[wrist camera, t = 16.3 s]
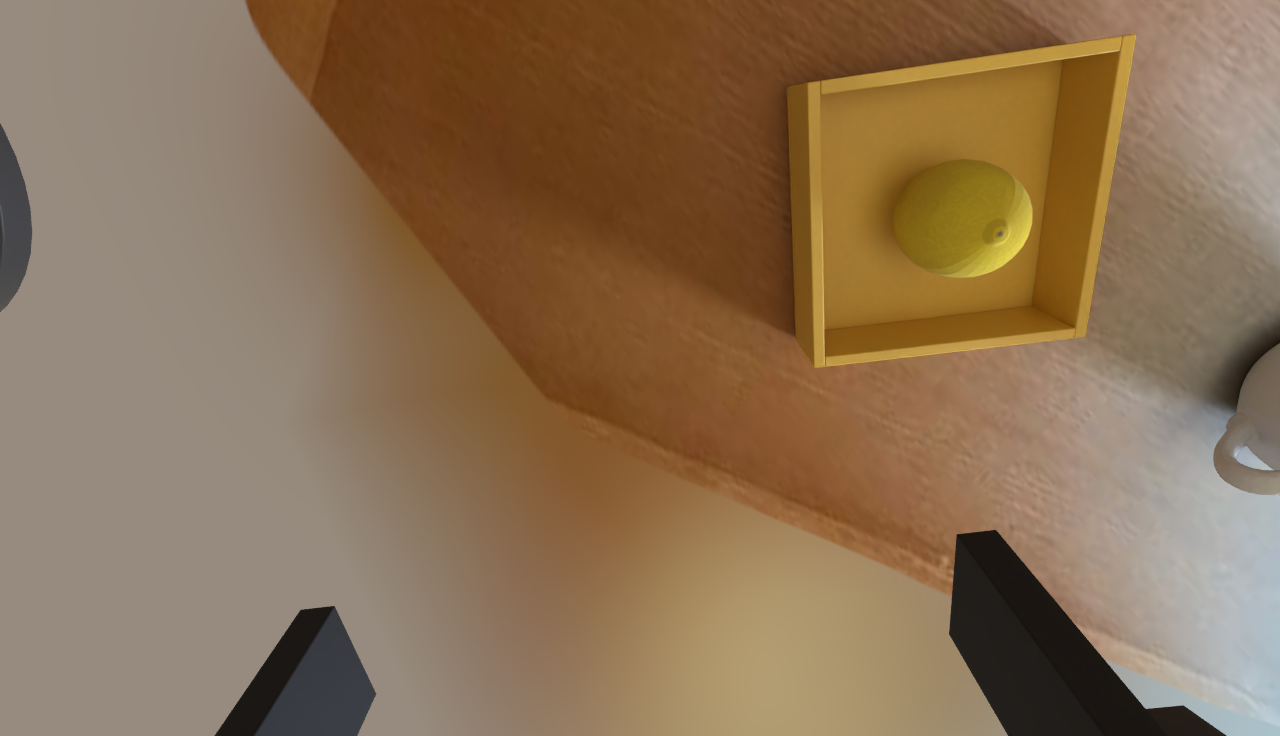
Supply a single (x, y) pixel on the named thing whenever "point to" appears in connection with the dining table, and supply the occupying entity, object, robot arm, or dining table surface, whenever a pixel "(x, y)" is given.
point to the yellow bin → (924, 137)
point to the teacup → (1254, 430)
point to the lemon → (962, 218)
